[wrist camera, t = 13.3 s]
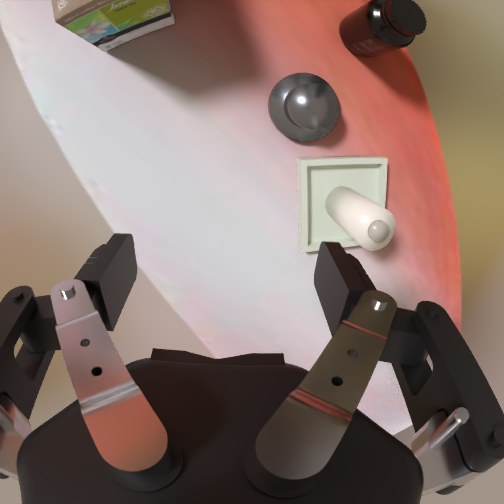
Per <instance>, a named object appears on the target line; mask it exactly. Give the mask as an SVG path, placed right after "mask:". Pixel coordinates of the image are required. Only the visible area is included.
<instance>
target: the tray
mask: <svg viewBox="0 0 504 504" xmlns="http://www.w3.org/2000/svg"><path fill="white" fill-rule="evenodd" d="M387 159H388V158H385V157H382V156H330V157H305V158H296V166H297V197H298V247H299V248H300V250H301V252H302V253H303V252H311V251H319V248H320V244H321V242H322V241H328V242H339V243H340V244H341V246H342V247H350V246H358V245H360V244H359V243H358V242H356V241H355V240H354V239H353V238H352V237H351V236H350V235H349V234H348V233H347V232H346V231H345V230H344V229H343V228H342V227H341V226H340V225H338V224H337V223H336V222H335V221H334V220H333V219H332V218H331V217H330V216H329V215H328V214H327V212H326V208H325V202H326V198H327V196H328V194H329V193H330V192H331V191H332V190H333V189H335V188H336V187H339V186H347V187H350V188H352V189H353V190H355V191H357V192H358V193H360V194H362V195H363V196H365V197H367V198H368V199H370V200H372V201H373V202H375V203H377V204H378V205H380V206H382V207H383V208H385V201H386V185H387Z"/></svg>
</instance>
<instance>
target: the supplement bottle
mask: <svg viewBox="0 0 504 504" xmlns="http://www.w3.org/2000/svg"><path fill="white" fill-rule="evenodd" d="M425 28H426V18H425V15H424V13H423V11H422V10H421V8H420V7H419V6H418V5H417V4H416V3H415V2H414V1H412V0H371V1H369V2H368V3H366V4H364V5H363V6H361V7H360V8H358V9H356V10H355V11H353V12H352V13H350V14H349V15H347V16H346V17H345V18H344V19H343V20H342V21H341V23H340V27H339V33H340V37H341V39H342V41H343V43H344V44H345V46H346V47H347V48H348V49H349V50H350V51H352V52H353V53H355V54H357V55H359V56H363V57H372V56H376V55H379V54H382V53H386V52H389V51H393V50H396V49H400V48H403V47H406V46H408V45H409V44H411V43H412V41H413V40H414V38H415V35H418V34H420V33H423V31H424V30H425Z"/></svg>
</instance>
